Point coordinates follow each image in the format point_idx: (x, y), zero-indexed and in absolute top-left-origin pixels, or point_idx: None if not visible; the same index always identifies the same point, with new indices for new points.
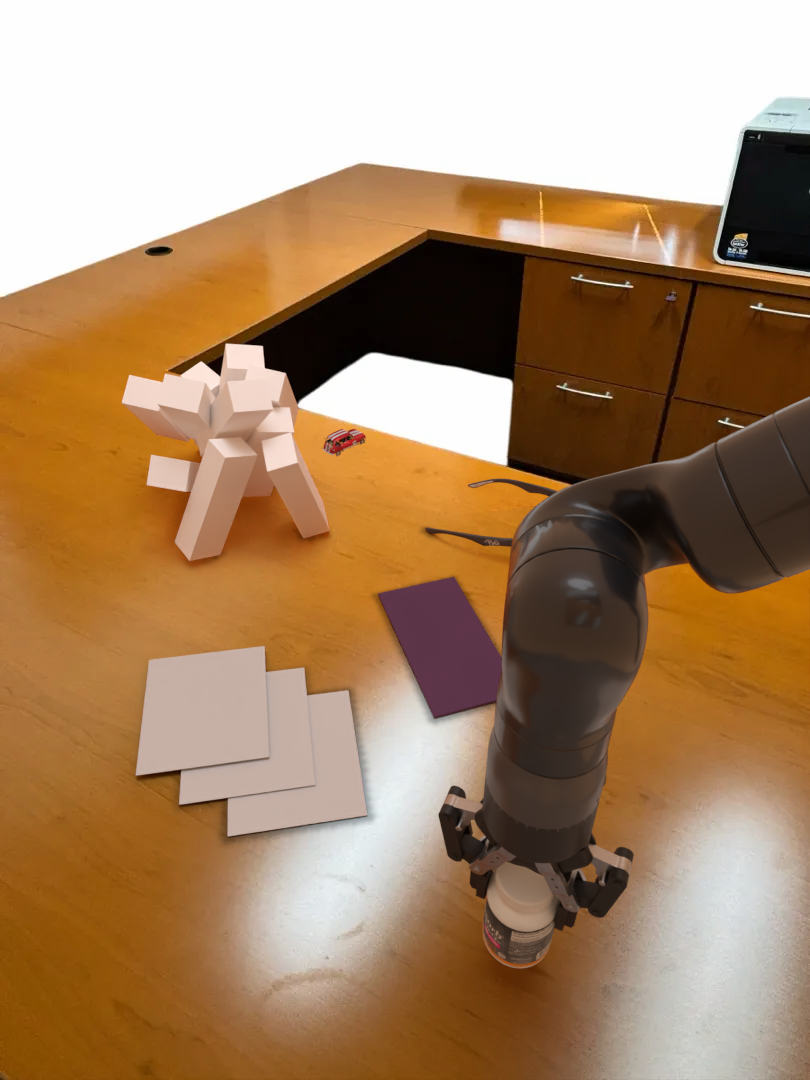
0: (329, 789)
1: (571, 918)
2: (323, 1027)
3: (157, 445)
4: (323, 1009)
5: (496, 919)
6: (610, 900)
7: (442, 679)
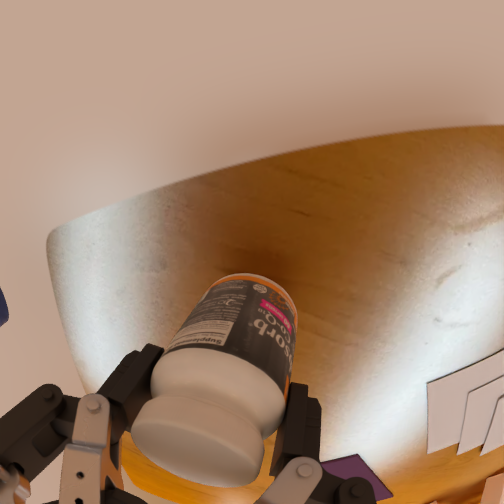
0: (457, 392)
1: (121, 370)
2: (464, 170)
3: None
4: (467, 189)
5: (259, 362)
6: (4, 424)
7: (349, 473)
